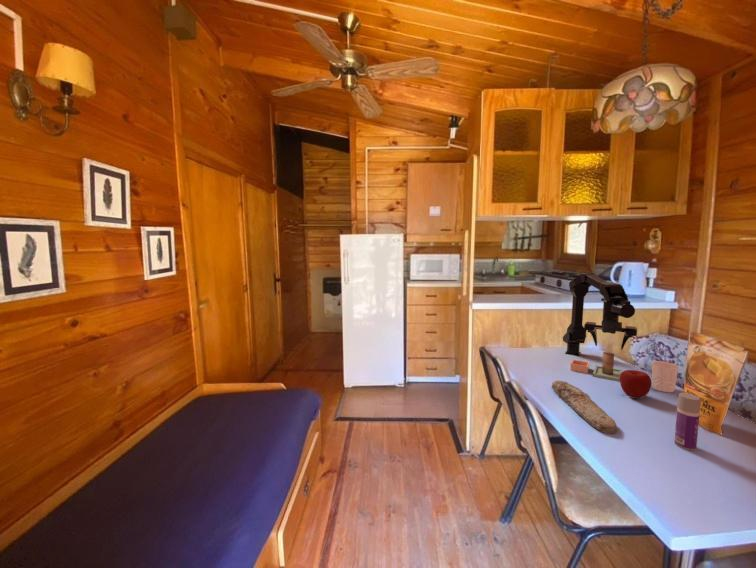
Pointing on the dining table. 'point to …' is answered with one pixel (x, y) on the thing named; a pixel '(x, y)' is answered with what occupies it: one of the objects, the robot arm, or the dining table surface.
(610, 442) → the dining table surface
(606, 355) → the dowel
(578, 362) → the holder
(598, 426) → the french baguette
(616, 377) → the tray
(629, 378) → the apple
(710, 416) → the pancake mix bag
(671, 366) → the pink cylinder
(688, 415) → the container
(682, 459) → the dining table surface
